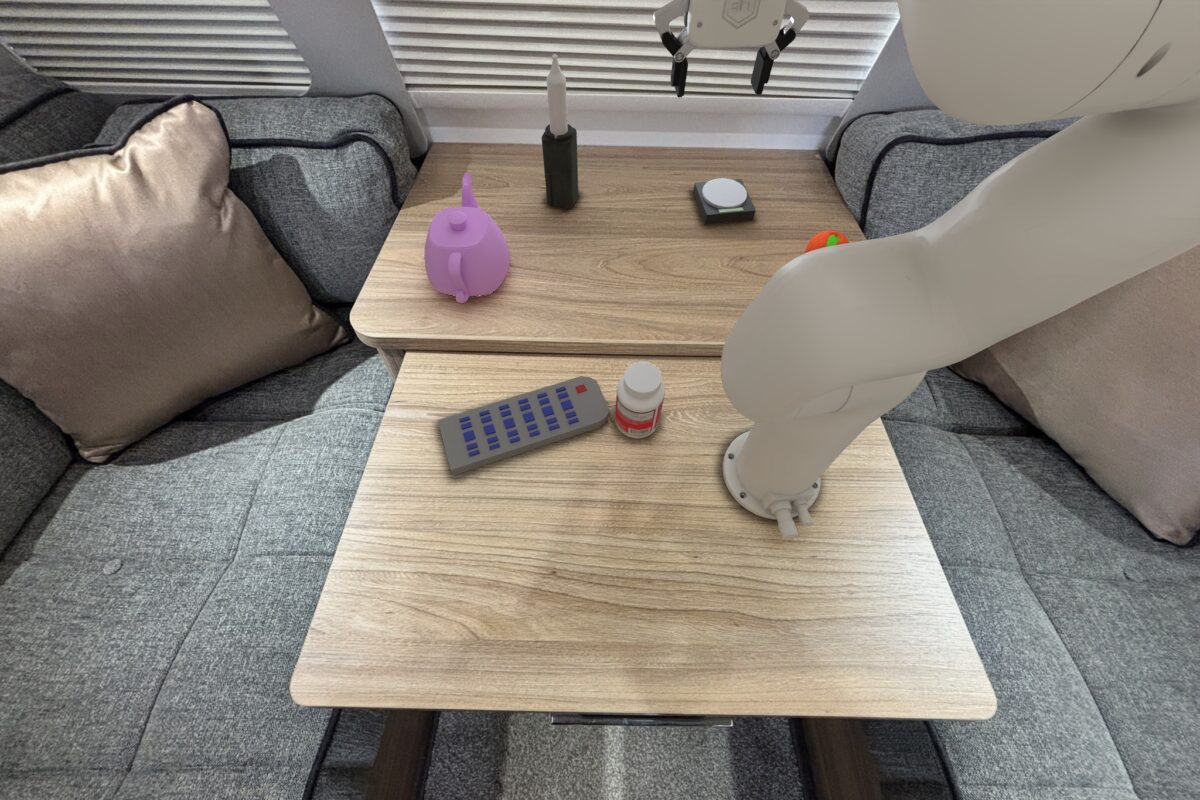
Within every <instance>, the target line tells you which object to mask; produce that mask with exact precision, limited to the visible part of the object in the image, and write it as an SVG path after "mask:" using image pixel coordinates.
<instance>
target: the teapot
mask: <svg viewBox="0 0 1200 800" xmlns="http://www.w3.org/2000/svg"><path fill="white" fill-rule="evenodd" d="M423 257H424V258H423V259H424V267H425V271H426V272H425V273H426V275H427V279H428V282H429V283H430V285H431V286H432V288H434V289H435V290H436V291H438V292H439V293H441V294H443V293H444V294H443V295H446V294H448V295H454V296H456V297H455V301H456V302H458V303H459V304H464V303H466V302H467V301H468V300H469V298H470V297H469V296H477V297H476V298H481V297H482V296H479V295H484V296H483V297H486V296H489V295H492V294H493V293H494V292H495V291H497V289H499V288H500V287H501V285H502V284H503V282H504V280H505V279H506V276H507V275H508V272H509V269H510V264H511V254H510V250H509V246H508V243H507V241H506V238H505V236H504V234H503V232H502V230H501V228H500V227H499V225H498V224H497V222H496V221H495V220H494V219H493V217H492V216H491V215H490V214H489V213H488V212H487V211H485V210H484V209H483V208H481V207H479V204H478V202H477V199H476V197H475V194H474V190H473V185H472V175H471V174H470V172H465V173H464V174H463V176H462V180H461V203H460V206H449V207H445V208H442V209H441V210H439V211H437V213H436V214H435V215H434V217H433V218H432V220H431V222H430V224H429V228H428V231H427V234H426V239H425V244H424V255H423ZM493 291H494V292H493ZM491 292H492V293H491ZM489 293H490V294H489ZM486 294H488V295H486ZM448 295H447V296H448Z"/></svg>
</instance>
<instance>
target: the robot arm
mask: <svg viewBox="0 0 1200 800" xmlns="http://www.w3.org/2000/svg"><path fill="white" fill-rule="evenodd" d="M896 2H897V8H898V14H899V18H900V22H901V23H900V24H901V27H902V28H901V29H902V32H903V33H902V34H903V37H904V42H905V46H906V49H907V54H908V57H909V61H910V64H911V67H912V71H913V73H914V76H915V78H916V79H917V81H918V83H919V85H920V87H921V88H922V90H923V92H924V95H925V96H926V97H927V98H928V99H929V101H930V102H931V103H932V104H933V105H934V106H936V107H937V108H938V109H939V110H940V111H941V112H943V113H944V114H945V115H947V116H948V117H950V118H953V119H956V120H958V121H961V122H965V123H968V124H972V125H979V126H1015V125H1016V126H1017V125H1026V124H1033V123H1040V122H1049V121H1056V120H1063V119H1064V120H1065V119H1070V118H1079V117H1081V118H1079V119H1078V120H1076V121H1075V122H1073V123H1071V124H1070V125H1069V126H1067V127H1065V128H1063V129H1062V130H1060V131H1058V132H1057V133H1055V134H1053V135H1051V136H1049V137H1048V138H1046V139H1044V140H1043V141H1041V142H1039V143H1037V144H1035V145H1033V146H1032V147H1030V148H1028V149H1027V150H1025V151H1023V152H1021V153H1020V154H1018V155H1017V156H1015V157H1014V158H1012V159H1010V160H1009V161H1007V162H1006V163H1004V164H1003V165H1002V166H1000V167H999V168H997V169H996V170H994V171H993V172H992V173H990V174H989V175H988V176H986V178H984V179H983V180H982V181H981V182H980V183H978V184H977V185H976V186H975V187H974V188H973V189H972V190H971V191H970V192H969V193H968V194H967V195H966V196H965V197H963V198H962V199H961V200H960V201H959V202H957V203H956V204H955V205H954V206H953V207H951V208H950V209H948V210H947V211H946V212H945V213H943V214H942V215H941V216H939V217H938V218H936V219H935V220H934V221H931V222H930V223H928V224H926V225H925V226H923V227H921V228H919V229H916V230H911V231H909V232H904V233H899V234H894V235H890V236H889V235H888V236H885V237H878V238H873V239H866V240H859V241H853V242H849V243H845V244H839V245H834V246H828V247H824V248H820V249H816V250H813V251H810V252H807V253H805V252H804V253H803V254H801V255H799V256H796V257H795V258H793V259H791V260H789V261H787V262H786V263H784V264H783V265H782V266H781V267H779V269H777V270H776V271H775V272H774V273H773V274H772V276H771V277H770V278H769V279H768V280H767V282H766V283H765V284H764V285H763V287H762V288H761V289H760V290H759V292H758V293H757V294H756V296H755V297H754V298H753V300H752V301H751V302H750V303H749V304H748V306H747V307H746V308H745V310H744V311H743V312H742V313H741V315H740V316H739V317H738V318H737V320H736V321H735V323H734V324H733V326H732V327H731V329H730V330H729V333H728V334H727V337H726V338H725V341H724V344H723V347H722V351H721V358H720V359H721V360H720V379H721V384H722V387H723V390H724V394H725V395H726V397H727V399H728V401H729V402H730V404H731V406H732V407H733V408H734V409H735V410H736V411H737V412H738V413H739V414H740V415H742V416H743V417H744V418H746V419H748V420H750V421H752V422H754V424H753V426H752V428H751V430H748V431H745V432H743V433H741V434H740V435H738V436H736V438H734V439H733V441H732V442H731V443H730V444H729V445H728V447H727V448H726V451H725V453H724V456H723V460H722V477H723V480H724V483H725V486H726V488H727V490H728V492H729V493H730V495H731V496H732V497H733V498H734V500H735V501H736V502H737V503H738V504H739V505H740V506H742V508H744V509H745V510H747V511H749V512H750V513H752V514H754V515H756V516H758V517H762V518H764V519H770V520H777V526H778V529H779V532H780V535H781V538H782V540H785V541H786V540H793V539H795V538H797V537H799V535H800V534H799V532H798V528H797V525H796V523H795V520H793V518H795V517H798V520H799V522H800V526H801V527H808V526H812V525H813V524H814V522H813V519H812V516H811V513H810V512H809V508H810V507H812V506H813V504H814V503H815V501H816V500H817V498H818V496H819V494H820V491H821V486H822V476H823V474H824V473H825V472H826V471H827V470H828V468H829V467H831V465H832V464H833V463H834V462H835V461H836V459H838V457H839V456H840V455H841V454H842V453H843V452H844V451H845V450H846V449H847V448H848V447H849V446H850V445H851V444H852V443H853V442H854V441H855V440H856V438H857V437H858V436H859V435H860V434H861V433H863V432H864V431H865V429H866V428H868V427H869V426H870V425H871V424H873V423H874V422H875V421H877V420H878V419H880V418H881V417H882V416H884V415H885V414H887V413H888V412H889V411H891V410H893V409H894V408H895V407H897V406H898V405H900V403H901V404H902V402H903V401H905V400H906V399H907V398H908V397H909V396H910V395H912V393H913V392H914V391H915V390H916V389H917V388H918V387H919V385H920V384H921V383H922V381H923V380H924V378H925V377H926V375H927V372H929V371H934V370H937V369H941V368H945V367H949V366H951V365H954V364H956V363H960V362H962V361H964V360H966V359H968V358H970V357H972V356H974V355H976V354H978V353H980V352H981V351H984V350H986V349H987V348H990V347H991V346H993V345H996V344H997V343H999V342H1001V341H1003V340H1005V339H1008V338H1010V337H1012V336H1014V335H1016V334H1018V333H1021V332H1023V331H1024V330H1025V331H1026V330H1027V329H1029V328H1031V327H1033V326H1035V325H1038V324H1040V323H1042V322H1044V321H1046V320H1048V319H1051V318H1052V317H1055V316H1057V315H1059V314H1061V313H1063V312H1065V311H1067V310H1069V309H1070V308H1072V307H1075V306H1076V305H1079V304H1080V303H1082V302H1084V301H1086V300H1088V299H1090V298H1091V297H1092V298H1093V297H1094V296H1096V295H1098V294H1100V293H1103V292H1104V291H1106V290H1108V289H1111V288H1113V287H1115V286H1116V285H1119V284H1121V283H1123V282H1125V281H1128V280H1130V279H1132V278H1133V277H1136V276H1137V275H1140V274H1142V273H1144V272H1146V271H1148V270H1151V269H1153V268H1155V267H1158V266H1159V265H1161V264H1163V263H1166V262H1167V261H1170V260H1171V259H1173V258H1176V257H1177V256H1179V255H1181V254H1184V253H1186V252H1187V251H1189V250H1191V249H1193V248H1195V247H1197V246H1199V245H1200V0H896ZM784 14H787V15H788V16H790V19H789V20H788V23H787V24H785V25H784V26H783V27H781V26H782V24H783V23H782V22H783V20H784ZM682 15H683V24H684V27H683V28H682V30H681V31H680V32H679V33H678V34H677V36H675V34H674V33H673V31H672V30H671V28H670V23H671V22H672V21H674V20H675V19H677V18H679V17H681V16H682ZM810 17H811V14H810V11H809V10H808V8H807V7H806V5H805V6H804V4H802V3H801V2H799V1H798V0H671V1H670V2H668V3H666V4H664V5H663V6H662V7H659V8H658V9H656V10H655V11H654V12H653V15H652V18H653V20H654V24H655V27H656V29H657V32H658V36H659V37H660V40H661V43H662V45H663V47H664V48H665V49H666V50H667V51H668V52H669V54H670V55H671V56H672V63H671V70H670V71H671V72H670V73H671V74H670V87H672V88H674V90H675V93H676V97H677V98H683V97H684V96H685V90H686V84H687V83H686V82H687V76H688V70H689V61H688V58H687V57H688V56H689V54H691V52H692V51H693V50H694V49H695V48H699V49H736V48H739V49H740V48H759V49H758V50H757V52H756V56H755V60H754V65H753V69H752V73H751V78H750V84H751V87H752V89H753V92H754V94H756V96H761V95H763V92H764V88H765V84H766V85H767V84H768V83H769V81H770V76H771V73H772V70H773V66H774V62H775V60H777V59H778V58H780V55H781V52H782V51H784V50H785V49H786V48H787V47H788V46H789V45H790V44H792V43H793V42H794V41H795V40H796V37H797V35H798V33H799V32H800V31H801V30H802V28H803V27H804V26H805V24H806V23H807V22H808V20H809V19H810Z"/></svg>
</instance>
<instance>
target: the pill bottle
mask: <svg viewBox="0 0 1200 800" xmlns="http://www.w3.org/2000/svg"><path fill="white" fill-rule="evenodd" d="M662 377H663V376H662V372H661V370H660V369H659V367H657V366H656V364H654V363H652V362H650V361H645V360H641V361H640V360H639V361H635V362H632V363H631V364H630V365H627V367H626V369H625V370H624V373H623V376H621V378H620V379H619V381H618V383H617V386H616V397H615V412H614V421H615V425H616V427H617V429H618V430H619V431H620V432H621V434H624V436H626V437H629V438H630V439H631V438H632V439H643V438H646V437H649V436H651V435H653V434H654V432H655V431H656V430H657V428H658V426H659V423H660V418H661V414H662V409H663V404H664V400H665V396H666V389H665V384H664V382H663V381H662V379H663V378H662Z"/></svg>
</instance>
